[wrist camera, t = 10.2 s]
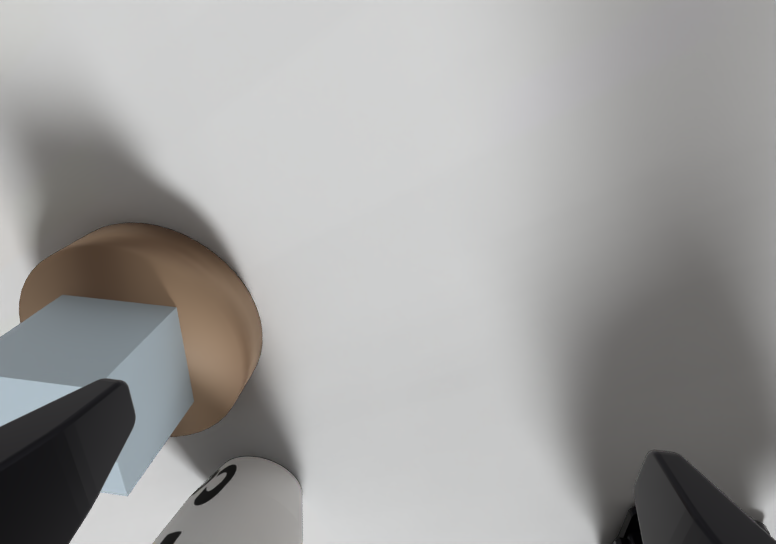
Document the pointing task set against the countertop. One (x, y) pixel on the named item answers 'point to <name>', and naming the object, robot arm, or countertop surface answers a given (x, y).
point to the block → (101, 369)
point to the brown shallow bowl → (164, 303)
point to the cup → (241, 507)
